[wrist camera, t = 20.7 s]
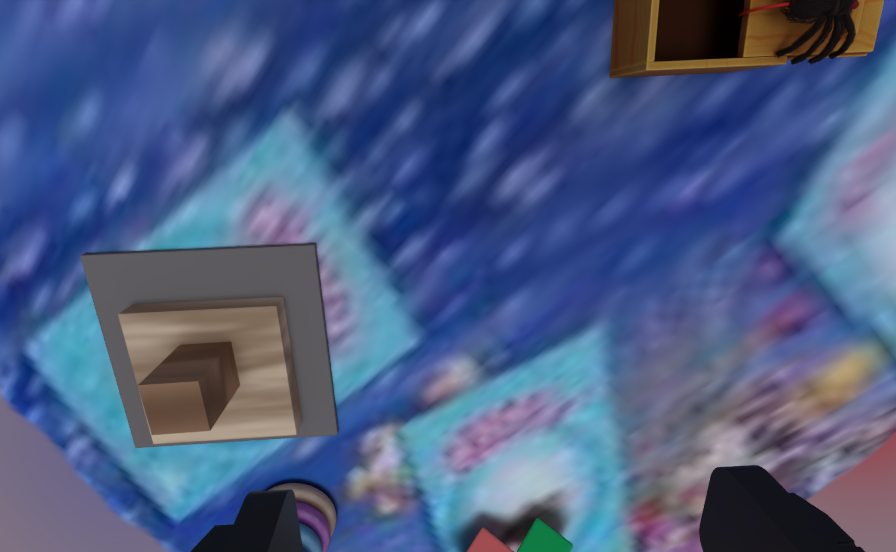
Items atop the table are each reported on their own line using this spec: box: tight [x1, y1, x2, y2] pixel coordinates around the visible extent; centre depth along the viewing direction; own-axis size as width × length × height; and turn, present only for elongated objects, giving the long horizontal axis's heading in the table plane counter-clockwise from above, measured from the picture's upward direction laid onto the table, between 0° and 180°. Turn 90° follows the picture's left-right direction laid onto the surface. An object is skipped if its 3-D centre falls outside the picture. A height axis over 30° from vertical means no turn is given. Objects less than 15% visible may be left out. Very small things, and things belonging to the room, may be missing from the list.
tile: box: [118, 297, 302, 444], centre depth 40 cm, size 2×12×12 cm
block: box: [138, 342, 240, 435], centre depth 35 cm, size 4×4×6 cm
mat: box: [80, 243, 339, 448], centre depth 40 cm, size 18×18×1 cm
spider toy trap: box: [610, 0, 884, 78], centre depth 31 cm, size 6×15×9 cm, turn 93°
